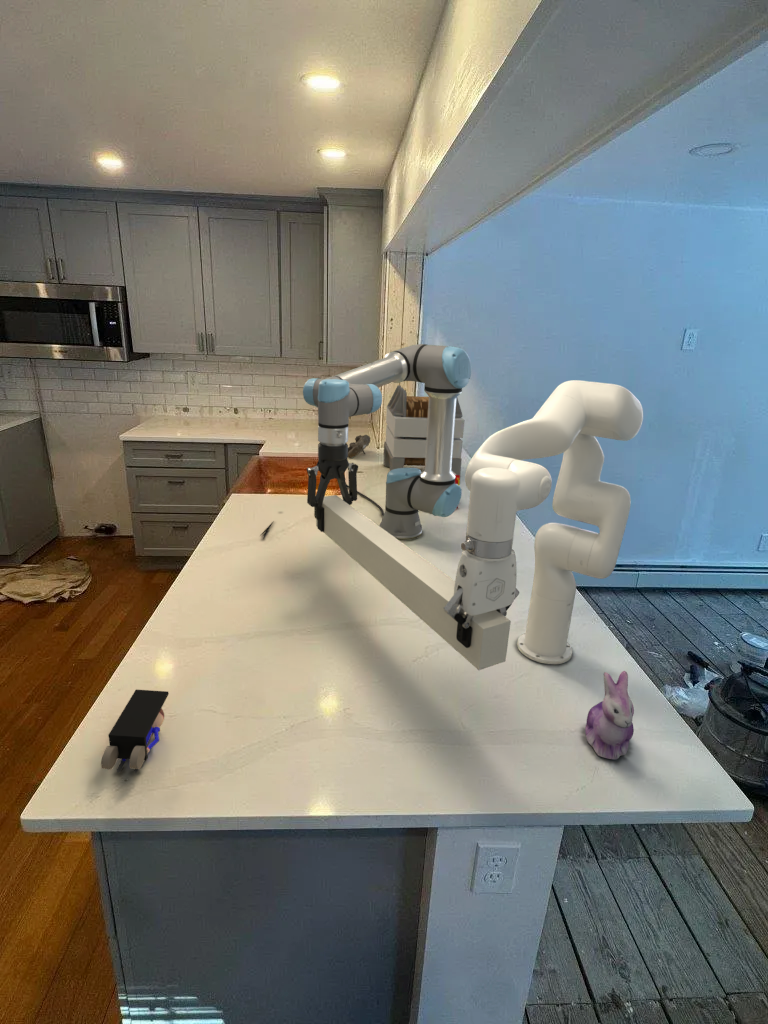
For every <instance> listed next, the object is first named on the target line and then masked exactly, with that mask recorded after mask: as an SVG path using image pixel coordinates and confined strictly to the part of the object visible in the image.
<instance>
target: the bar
mask: <svg viewBox="0 0 768 1024" xmlns="http://www.w3.org/2000/svg"><path fill="white" fill-rule="evenodd" d="M322 507H323V508H324V532H323V534H324V535H326V536H327V537H328V538H329V539H330V540H331V541H332V542H333V543H335V545H337V546H338V547H339V548H340V549H342V550H343V551H344V552H345V553H346V554H347V555H348V556H349V557H351V559H353V561H355V562H356V564H358V565H359V566H361V567H362V568H363V569H364V570H365V571H366V572H367V573H369V575H371V576H372V577H373V578H374V579H375V580H376V581H377V582H379V583H380V584H381V585H382V586H383V587H384V588H385V589H386V590H387V591H389V592H390V593H391V594H392V595H393V597H395V598H397V599H398V600H399V601H400V602H401V603H402V604H403V605H404V606H406V608H408V609H409V610H410V611H411V612H412V613H414V614H415V615H416V616H417V618H419V619H420V620H421V621H422V622H423V623H425V624H426V625H427V626H428V627H429V628H430V629H432V631H434V633H436V634H437V635H438V636H439V637H440V638H442V639H443V640H444V641H445V642H446V643H447V644H448V645H449V646H451V648H453V649H454V650H455V651H456V652H458V653H459V654H460V655H461V656H462V657H463V658H464V659H465V660H466V661H467V662H469V663H470V664H471V665H472V666H473V667H474V668H476V670H478V671H481V670H484V669H488V668H491V667H493V666H496V665H499V664H502V663H505V662H506V661H507V653H508V645H509V636H510V630H511V622H512V621H511V619H509V618H508V617H506V616H503V615H502V614H501V613H499V612H498V611H496V610H493V611H490V612H486V613H483V614H479V615H475V616H473V619H472V621H471V624H470V626H471V627H472V637H471V646H470V647H469V648H466V647H465V646H463V645H462V644H461V643H460V642H459V641H458V640H457V637H456V635H457V624H458V622H457V621H456V620H454V619H453V618H452V617H451V616H450V615H448V614H447V613H446V612H445V611H444V610H443V609H444V607H445V606H446V604H447V603H448V602H449V601H450V599H451V598H452V597H453V595H454V586H455V579H454V578H453V577H451V576H449V575H448V574H447V573H445V572H444V571H442V570H441V569H439V567H437V566H436V565H434V564H433V563H431V561H428V560H427V559H425V558H424V557H423V556H421V554H419V553H417V552H416V551H415V550H413V549H412V548H410V547H409V546H408V545H406V544H405V543H403V542H402V540H398V539H396V538H395V537H394V536H392V535H391V534H389V533H388V532H387V531H385V530H384V529H382V528H381V527H380V525H378V524H377V523H375V521H373V520H371V519H370V518H369V517H367V516H366V515H364V514H363V513H362V512H360V511H359V510H358V509H356V508H355V507H354V506H352V505H349V504H348V503H346V502H345V501H344V500H343V498H342V497H340V496H338V495H336V494H333V495H327V496H326V495H325V496H324V500H323V503H322ZM315 525H316V527H317V519H316V518H315ZM459 606H460V605H459ZM459 606H458V607H457V609H456V611H458V608H459ZM466 614H467V613H466V612H465V613H464V615H463V617H464V618H465V617H466Z"/></svg>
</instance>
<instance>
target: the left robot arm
mask: <svg viewBox="0 0 768 1024" xmlns="http://www.w3.org/2000/svg"><path fill="white" fill-rule="evenodd" d="M471 376H472V363H471V359H470V355H468V353H467V352H466V350H464V349H463V348H461V347H456V346H453V345H438V344H426V343H419V344H412V345H408V346H405V347H401V348H399V349H396V350H393V351H390V352H388V353H386V354H385V355H384V357H383V358H380V359H378V360H375V361H372V362H370V363H366V364H363V365H361V366H358V367H355V368H353V369H349V370H347V371H344V372H341V373H339V374H336V375H333V376H329V377H326V378H320V377H317V378H316V377H315V378H314V377H312V378H309V379H307V381H305V383H304V384H303V389H302V396H303V400H304V401H305V403H306V404H308V405H309V406H313V407H315V408H317V416H318V417H317V419H318V420H317V423H318V424H317V441H318V442H319V443H318V444H317V458H318V461H317V463H316V465H315V466H313V467H307V468H306V472H307V477H308V478H307V497H306V504H307V505H308V506H310V507H312V508H313V509H314V511H313V512H314V513H313V515H314V519H315V520H316V519H317V526H316V528H317V530H318V531H319V532H321V533H324V508H323V507H322V503H323V500H324V497H326V492H327V489H328V486H329V484H330V482H331V481H332V480H334V479H336V480H337V484H338V488H339V491H340V494H341V499H342V500H344V501H345V502H346V503H348V504H349V505H350V506H352V505H353V502H356V501H357V500H358V495H359V496H361V497H363V498H364V499H366V500H367V501H369V502H370V503H372V504H374V505H375V506H376V507H377V508H378V509H379V510H380V513H381V517H382V519H381V522H379V526H380V527H381V528H382V529H384V530H385V531H387V532H388V533H389V534H391V535H392V536H394V537H395V538H396V539H398V540H399V541H410V540H415V539H418V538H420V537H421V536H422V535H423V525H422V524H421V518H420V515H419V512H422V513H425V514H429V515H432V516H433V517H440V518H447V517H450V516H451V515H452V514H453V513H454V512H455V511H456V509H458V508H457V506H458V507H459V504H460V503H461V499H462V491H463V490H462V488H461V486H460V485H458V484H455V475H454V474H453V473H452V471H451V467H452V453H453V439H454V426H455V412H456V398H458V397H459V396H460V395H461V394H462V393H463V389H464V388H466V387H467V386H468V384H469V382H470V379H471ZM403 382H414V383H415V382H416V383H420V384H424V387H423V389H424V392H425V394H426V395H427V397H429V404H428V422H427V440H426V459H425V466H424V469H423V471H422V470H421V469H420V468H417V467H404V468H398V469H394V470H391V471H390V470H388V472H387V475H386V480H385V481H386V482H385V504H384V505H385V507H384V508H385V509H383V507H382V506H381V505H379V504H378V503H377V502H376V501H374V500H373V499H371V498H370V497H368V496H367V495H365V494H364V493H362V492H360V491H358V480H357V479H358V477H357V476H358V475H357V474H358V470H359V465H358V464H356V463H355V462H349V460H348V447H349V444H348V442H349V419H350V418H351V417H356V416H363V415H370V414H372V413H375V412H377V411H378V410H379V409H381V406H382V404H383V394H382V391H381V390H380V388H381V387H383V386H386V385H388V384H392V383H394V384H400V383H403ZM346 471H348V472H347V475H348V484H347V482H346V475H345V473H346ZM318 472H319V473H320V477H319V483H318V486H317V476H318Z"/></svg>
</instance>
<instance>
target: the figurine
mask: <svg viewBox="0 0 768 1024" xmlns="http://www.w3.org/2000/svg"><path fill="white" fill-rule="evenodd" d="M603 684H604V685H603V688H604V689H603V690H604V698H603V700H602V701H599V702H598V703H597V704H595V705H593V706H592V707H591V708H590V709H589V710H588V713H587V715H586V716H587V717H586V723H585V728H584V732H585V738H586V741H587V743H588V744H589V745H590V746H591V747H592V749H593V750H594V752H595V754H596V755H597V756H599V757H600V758H601V757H602V758H605V759H609V760H618V759H620V756H625V755H626V754H627V752H628V750H629V745H630V741H631V740H632V738H633V736H634V731H635V729H634V723H633V717H634V715H635V707H634V703H633V700H632V698H631V696H630V694H629V691H628V689H629V674H628V672H627V671H626V670H622V671H621V672H620V673H619V676H618V678H617V681H616V682H615V680H614V679H613V677H612V676H611V675H610V673H608V672H607V671H604V673H603Z"/></svg>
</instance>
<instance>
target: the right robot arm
mask: <svg viewBox="0 0 768 1024" xmlns="http://www.w3.org/2000/svg"><path fill="white" fill-rule="evenodd" d="M643 420H644V409H643V406H642V403H641V401H640V400H639V399H638V398H637V397H636V396H635V395H634V393H632V392H631V391H630V390H629V389H628V388H626V387H625V386H622V385H620V384H616V383H615V384H614V383H607V382H597V381H590V380H589V381H588V380H579V379H577V380H576V379H575V380H573V379H572V380H567V381H563V382H561V383H560V384H559V385H557V387H556V388H555V389H554V390H553V391H552V392H551V394H550V395H549V397H548V398H547V399H546V400H545V402H543V404H542V406H541V407H540V408H539V409H538V410H537V412H536V413H535V414H534V415H533V417H532V418H530V419H526V420H523V421H521V422H518V423H515V424H512V425H510V426H508V427H505V428H503V429H501V430H498V431H496V432H494V433H493V434H491V435H490V436H489V437H487V438H486V439H485V440H484V442H483V443H482V444H481V445H480V447H479V448H478V449H477V450H476V451H475V453H474V454H473V455H472V457H471V458H470V460H469V462H468V464H467V466H466V469H465V473H464V483H465V486H466V488H467V490H468V492H469V500H468V511H467V512H468V513H467V521H466V522H467V524H466V532H465V541H464V542H461V544H460V549H461V550H462V551H461V554H460V558H459V561H458V564H457V569H456V573H455V574H456V575H455V579H454V580H455V586H454V595H453V597H452V598H451V599H450V601H449V602H448V603H447V604H446V606H445V607H444V609H443V610H444V611H445V612H446V613H447V614H448V615H450V616H451V617H452V618H453V619H454V620H456V621H457V622H458V624H457V635H456V637H457V640H458V641H459V642H460V643H461V644H462V645H463V646H465V647H466V648H469V647H470V646H471V637H472V627H471V626H470V624H471V621H472V619H473V616H475V615H479V614H483V613H486V612H490V611H493V610H496V611H498V612H499V613H501V614H502V615H503V616H505V617H506V616H507V615H508V610H509V608H510V607H511V606H512V605H513V603H514V602H515V600H516V599H517V597H518V596H519V595H520V591H519V590H518V588H517V577H518V575H517V573H518V572H517V570H518V569H517V557H516V551H515V550H514V549H513V545H514V544H513V543H514V536H515V535H514V534H515V526H516V518H517V512H519V511H524V510H529V509H533V508H536V507H538V506H539V505H542V503H544V501H546V499H547V498H548V497H549V495H550V493H551V491H552V480H553V479H552V476H551V473H550V471H549V470H548V469H547V468H546V467H545V466H543V465H541V464H538V463H535V462H531V461H526V460H533V459H534V460H535V459H544V458H549V457H555V456H558V455H561V454H563V455H562V460H561V464H560V469H559V472H558V475H557V476H558V477H557V480H556V484H555V488H554V492H553V498H552V503H551V506H552V510H553V512H554V513H555V514H556V515H558V516H560V517H562V518H565V519H568V520H571V521H576V522H579V523H583V524H588V525H592V526H596V527H597V528H598V530H599V532H596V531H592V530H588V529H584V528H582V527H581V528H580V527H578V526H574V525H569V524H565V523H560V522H548V523H544V524H543V525H541V526H540V527H539V528H538V530H537V531H536V534H535V537H534V542H533V547H534V572H533V580H532V587H531V594H530V601H529V608H528V613H527V621H526V627H525V628H526V629H525V632H524V633H521V635H519V637H518V639H517V643H516V646H517V649H518V650H519V651H520V653H521V654H522V655H523V656H525V657H526V658H528V659H530V660H532V661H534V662H537V663H541V664H546V665H559V664H564V663H566V662H568V661H570V660H571V658H572V656H573V648H572V646H571V644H570V643H569V642H568V639H569V632H570V628H571V627H570V626H571V622H572V616H573V611H574V610H573V609H574V605H575V599H576V594H577V583H576V578H575V576H574V573H577V574H580V575H583V576H587V577H591V578H594V579H599V580H602V579H603V580H604V579H607V578H608V577H610V576H611V575H612V573H614V570H615V567H616V565H617V562H618V557H619V554H620V550H621V545H622V542H623V540H624V535H625V531H626V528H627V525H628V524H627V523H628V520H629V517H630V512H631V505H632V503H631V502H632V499H631V494H630V492H629V490H628V489H627V488H626V487H625V486H622V485H620V484H616V483H611V482H606V481H602V480H601V475H602V471H603V466H604V463H605V454H604V451H603V449H602V447H601V444H600V443H599V441H598V439H597V438H602V439H610V440H615V441H621V442H622V441H623V442H627V441H630V440H632V439H633V438H635V437H636V436H637V435H638V434H639V432H640V430H641V428H642V424H643ZM573 572H574V573H573ZM459 605H460V606H459ZM458 606H459V608H458V611H456V609H457V607H458ZM465 612H466V613H467V614H466V617H465V618H464V617H463V615H464V613H465Z"/></svg>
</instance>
